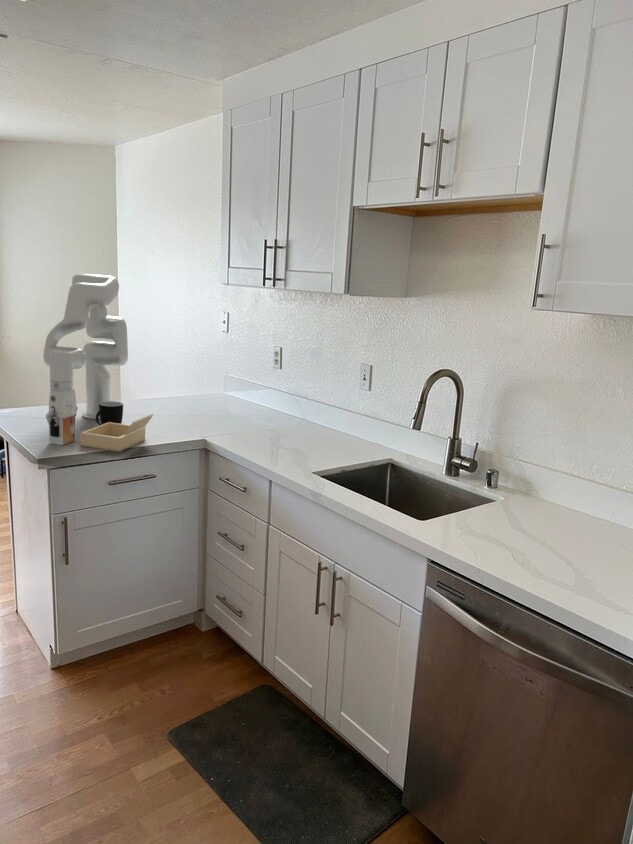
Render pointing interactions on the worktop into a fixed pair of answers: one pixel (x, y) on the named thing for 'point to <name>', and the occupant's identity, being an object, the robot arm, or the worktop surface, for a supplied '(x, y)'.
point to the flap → (138, 424)
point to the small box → (64, 431)
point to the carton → (111, 437)
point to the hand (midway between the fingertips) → (62, 433)
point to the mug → (110, 412)
